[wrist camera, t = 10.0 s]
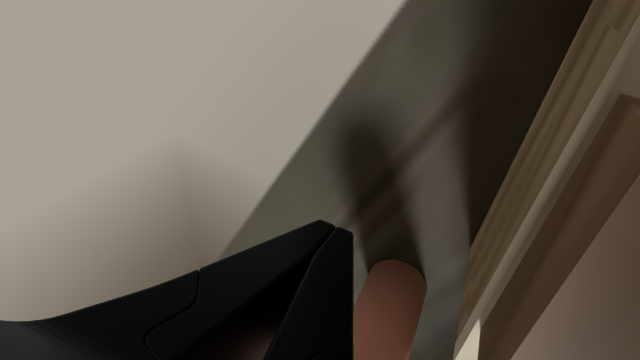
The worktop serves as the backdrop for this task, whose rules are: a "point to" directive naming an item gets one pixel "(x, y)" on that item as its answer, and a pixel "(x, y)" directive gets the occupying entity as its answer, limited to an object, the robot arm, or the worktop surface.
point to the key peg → (388, 311)
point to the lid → (575, 244)
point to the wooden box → (547, 139)
